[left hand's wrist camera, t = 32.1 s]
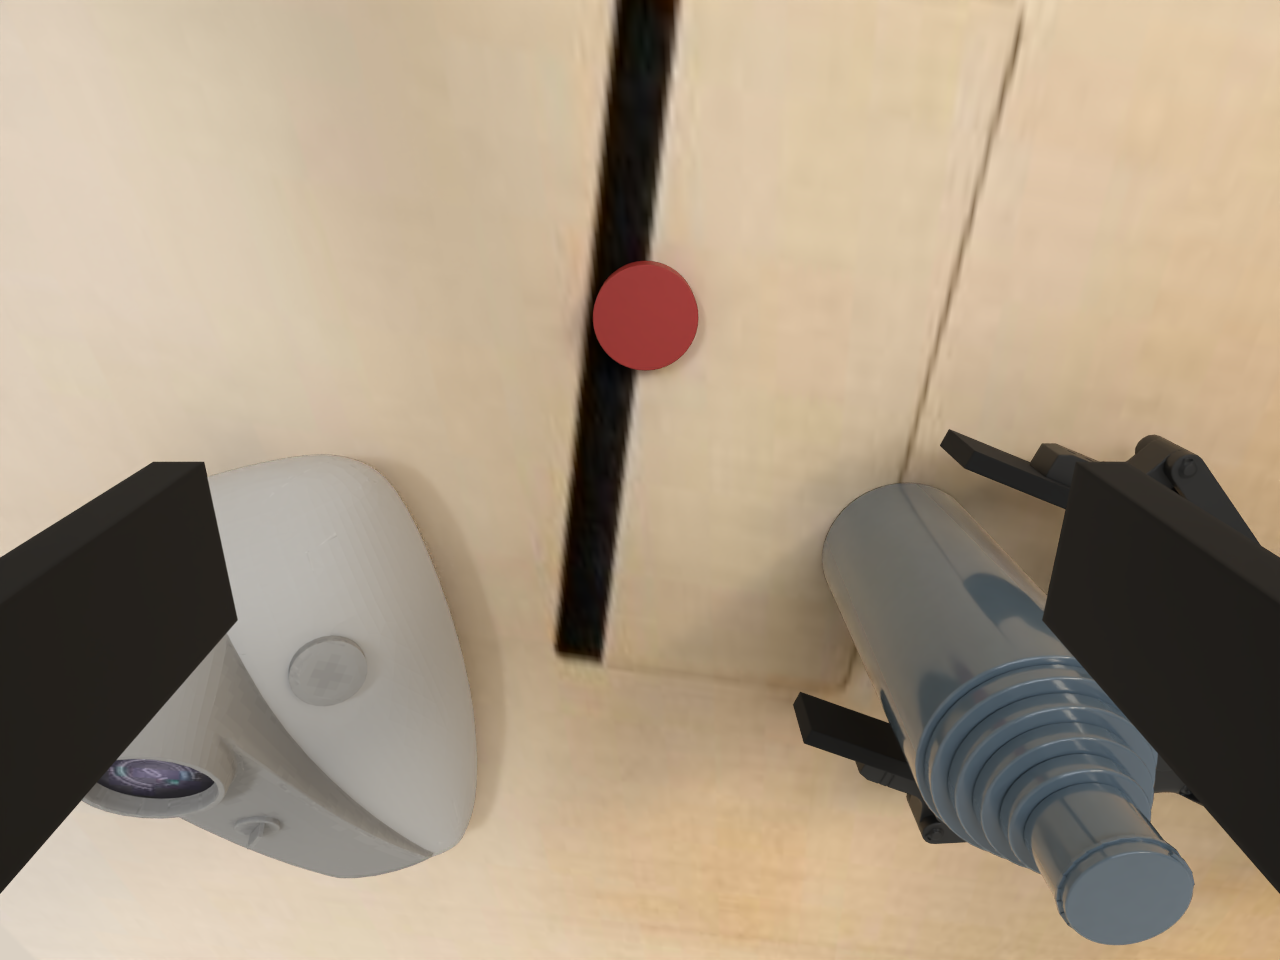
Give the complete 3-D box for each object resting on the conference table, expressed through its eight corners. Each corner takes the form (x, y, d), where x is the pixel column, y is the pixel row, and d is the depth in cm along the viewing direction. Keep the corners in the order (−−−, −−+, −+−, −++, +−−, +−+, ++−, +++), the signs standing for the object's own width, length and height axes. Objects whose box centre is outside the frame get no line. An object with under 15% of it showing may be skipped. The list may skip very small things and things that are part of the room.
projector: (55, 720, 43) (-217, 973, 30) (161, 338, 36) (-135, 439, 22) (441, 861, 47) (357, 1146, 33) (610, 537, 39) (593, 731, 26)
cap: (701, 355, 36) (704, 363, 35) (603, 369, 37) (601, 377, 35) (689, 253, 35) (691, 257, 33) (587, 268, 35) (584, 272, 34)
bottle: (897, 645, 42) (1109, 1041, 23) (790, 563, 40) (921, 915, 21) (1007, 543, 40) (1341, 884, 21) (898, 452, 38) (1153, 732, 19)
